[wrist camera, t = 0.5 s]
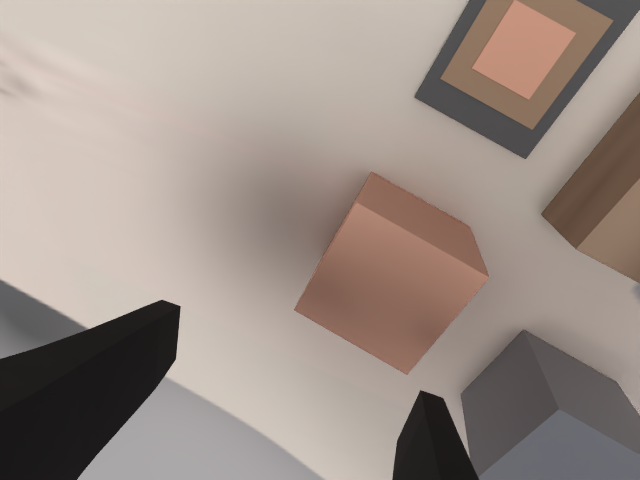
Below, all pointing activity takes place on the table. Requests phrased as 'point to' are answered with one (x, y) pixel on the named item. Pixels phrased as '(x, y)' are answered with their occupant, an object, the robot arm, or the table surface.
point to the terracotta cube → (394, 275)
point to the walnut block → (605, 199)
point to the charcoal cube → (549, 418)
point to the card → (521, 64)
